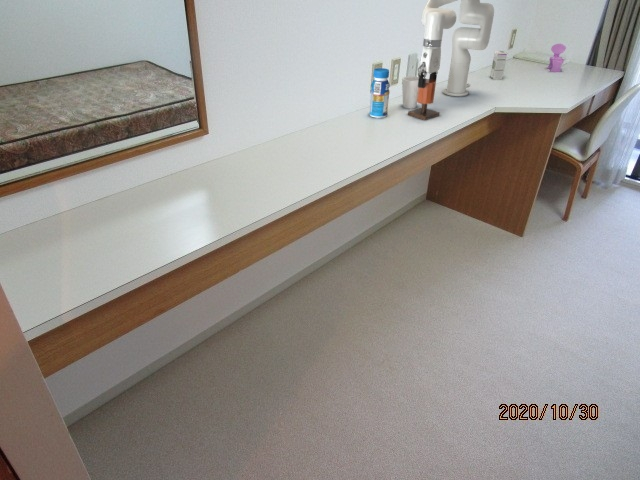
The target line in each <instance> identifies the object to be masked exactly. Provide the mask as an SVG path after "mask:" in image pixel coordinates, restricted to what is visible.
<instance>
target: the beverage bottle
mask: <svg viewBox="0 0 640 480" xmlns="http://www.w3.org/2000/svg"><path fill="white" fill-rule="evenodd" d="M372 76H373V80H372V82H371V83H370V87H371V89H370V90H369V91H370V92H369V93H370V96H369V98H370V99H369V116H370V117H372V118H375V119H376V118H377V119H383V118H386V117H388V113H389V112H388V111H389V100H390V87H391V85H390V82H389V77H390V69H389V68H383V67H378V68H374V69H373V75H372Z"/></svg>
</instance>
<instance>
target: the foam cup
mask: <svg viewBox="0 0 640 480" xmlns="http://www.w3.org/2000/svg"><path fill="white" fill-rule="evenodd" d="M418 80H419V78H418V76H414V75H413V76H412V75H411V76H409V75H408V76H407V75H406V76H402V77H401V87H402V88H401V91H402V107H403V108H405V109H417V105H418V102H417V94H418Z"/></svg>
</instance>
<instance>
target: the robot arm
mask: <svg viewBox="0 0 640 480" xmlns="http://www.w3.org/2000/svg"><path fill="white" fill-rule="evenodd" d="M457 1H458V0H427V2H426V4H425V6H424V8H423V10H422V14H421V18H420V20H421V24H422V26H423V27H424V31H423V32H424V33H423V41H422V51H421V56H420V61H419V62H420V63H419V66H418V68H417V75H418V76H417V77H418V78H419V80H418V87H420V88H425V82H426V79H427V78H426V77H427V75H428V74H429V77H428V79H432V80H435V81H436V82H437V77H438V73H439V70H440V67H441V56H442V41H443V34H444V30H449V29H451V28H453V27H454V26H455V24H456V23H457V13H456V11H454V10H453V9H450V8H441V7H442V6H445V5H448V4H452V3H454V2H457ZM494 16H495V8H494V5H493V4H491V3H488V2H481V0H460V4H459V12H458V21H459V23H460V24H463V25H471V26H479V27H480V28H479V27H469V26H461V27H457V28H456V29H455V30H454V31H453V33H452V37H451V47H452V48H451V58H450V63H449V64H450V65H449V72H448V77H447V78H448V79H447V85H446V88H444V89H443V90H442V92H443V94H444V95H446V96H450V97H465V96H468V95H469V91H468V90H467V88H470V87H471V83H468V77H469V72H470V67H471V66H470V65H471V61H472V57H471V54H470V50H473V51H474V50H475V51H484V50H486V49H487V47H488V46H489V43H490V38H491V33H492V28H493V22H494Z"/></svg>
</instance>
